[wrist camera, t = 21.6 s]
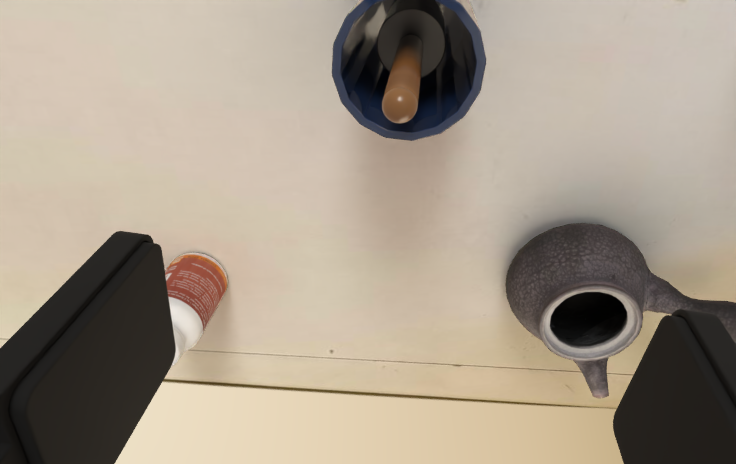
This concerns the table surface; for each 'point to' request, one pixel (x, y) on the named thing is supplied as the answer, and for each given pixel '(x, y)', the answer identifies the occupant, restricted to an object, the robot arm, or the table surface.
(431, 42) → the mallet
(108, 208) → the table surface
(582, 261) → the teapot
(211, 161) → the table surface
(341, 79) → the cup
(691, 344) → the robot arm
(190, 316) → the pill bottle
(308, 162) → the table surface
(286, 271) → the table surface
